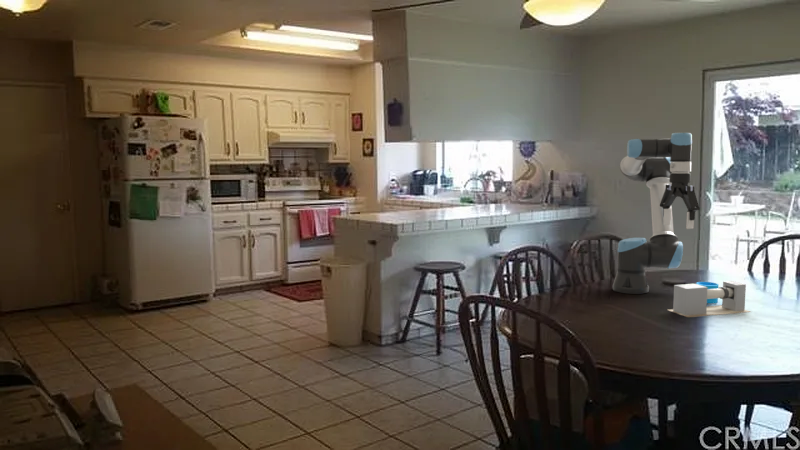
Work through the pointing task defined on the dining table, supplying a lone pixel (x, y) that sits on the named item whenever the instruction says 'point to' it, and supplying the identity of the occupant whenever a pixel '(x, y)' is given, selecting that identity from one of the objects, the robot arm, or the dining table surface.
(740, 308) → the socket
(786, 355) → the dining table surface
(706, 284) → the mug
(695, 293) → the sleeve
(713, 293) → the tube
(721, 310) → the mount board
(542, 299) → the dining table surface
